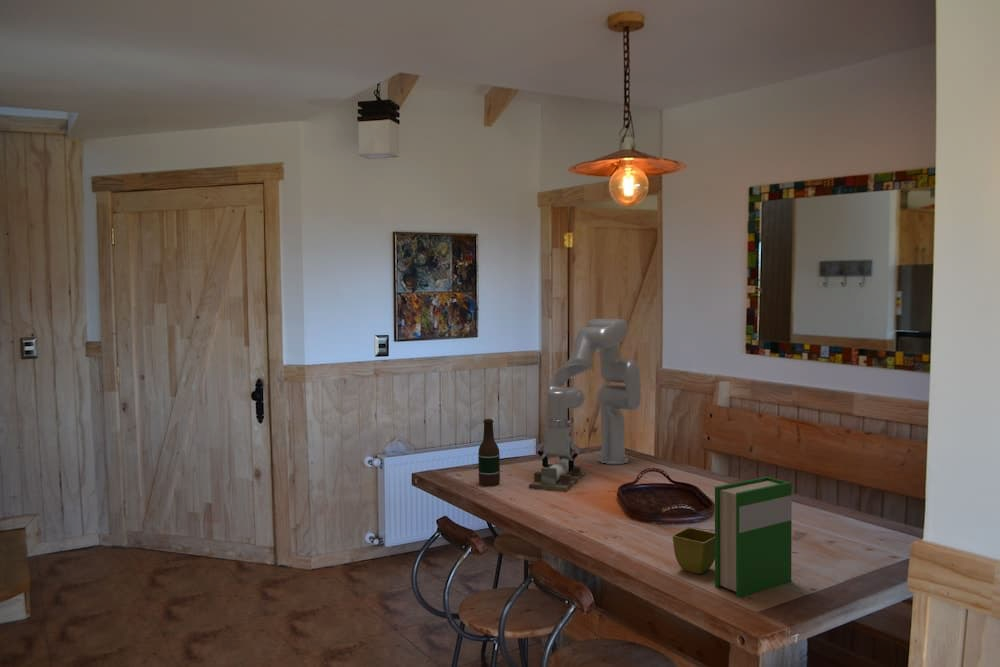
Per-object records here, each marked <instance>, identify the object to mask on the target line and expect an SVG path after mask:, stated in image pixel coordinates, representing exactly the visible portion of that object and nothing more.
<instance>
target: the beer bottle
mask: <svg viewBox="0 0 1000 667" xmlns="http://www.w3.org/2000/svg"><path fill="white" fill-rule="evenodd" d="M493 423H494V420H493V419H492V418H486V419H483V439H482V441H481V443H480V445H479V448H478V458H477V459H478V484H479V485H480V484H481V485H484V486H483V487H487V486H491V487H496V486H495V485H497V486H498V485H500V481H501V474H500V473H501V472H500V471H501V470H500V467H501V466H500V464H501V463H500V457H501V456H500V449H499V446H498V444H497V443H496V441H495V436H494V435H495V434H494V424H493ZM481 485H480V486H481Z"/></svg>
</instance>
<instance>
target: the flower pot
mask: <svg viewBox="0 0 1000 667" xmlns="http://www.w3.org/2000/svg"><path fill="white" fill-rule="evenodd" d="M672 542H673V551H674V556H675V558H676V559H675V560H676V561H677V563H678V565H679V567H680V568H681V569H682V571H687V572H690V573H694V574H697V575H701V574H704V573H705V572H707V571H708V570H710V568H711V567H712V565H713V564H714V563H715V532H711V531H707V530H702V529H697V528H693V527H685V528H684V529H682V530H681V531H679V532H676V533H674V534H673V535H672Z"/></svg>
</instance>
